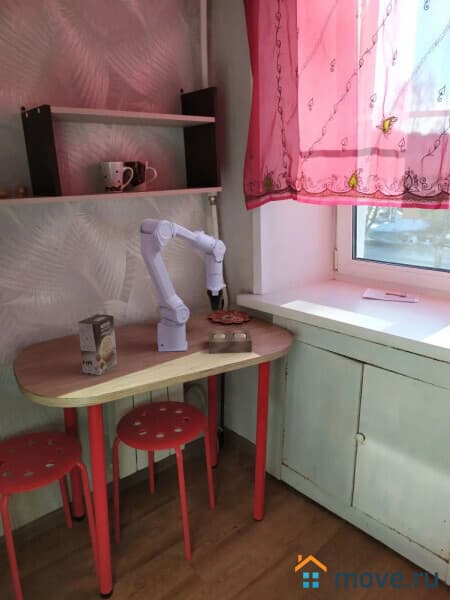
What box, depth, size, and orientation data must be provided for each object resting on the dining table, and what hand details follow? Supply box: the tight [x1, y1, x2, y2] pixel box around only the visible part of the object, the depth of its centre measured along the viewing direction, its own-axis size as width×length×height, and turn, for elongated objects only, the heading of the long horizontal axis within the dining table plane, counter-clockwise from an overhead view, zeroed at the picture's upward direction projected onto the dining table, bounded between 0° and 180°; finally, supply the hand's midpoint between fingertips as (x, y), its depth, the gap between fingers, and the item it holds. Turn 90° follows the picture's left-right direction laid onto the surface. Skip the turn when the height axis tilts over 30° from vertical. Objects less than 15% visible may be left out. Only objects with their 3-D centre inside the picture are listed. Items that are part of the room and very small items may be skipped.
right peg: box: [234, 333, 246, 338], centre depth 158 cm, size 4×4×4 cm
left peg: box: [213, 334, 225, 339], centre depth 157 cm, size 4×4×4 cm
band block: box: [208, 329, 253, 355], centre depth 158 cm, size 14×11×4 cm
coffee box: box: [77, 313, 118, 376], centre depth 140 cm, size 9×6×16 cm
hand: (215, 309), depth 168 cm, fingers closed
